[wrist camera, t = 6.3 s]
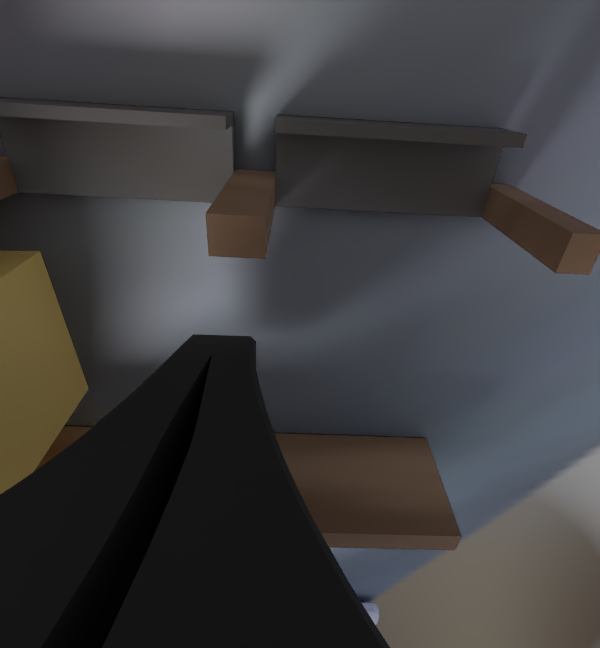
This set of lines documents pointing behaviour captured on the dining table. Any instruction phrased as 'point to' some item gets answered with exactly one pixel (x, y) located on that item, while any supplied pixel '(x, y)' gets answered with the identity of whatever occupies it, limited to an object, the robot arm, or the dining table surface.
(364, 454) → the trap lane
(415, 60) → the dining table surface
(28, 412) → the ochre block
